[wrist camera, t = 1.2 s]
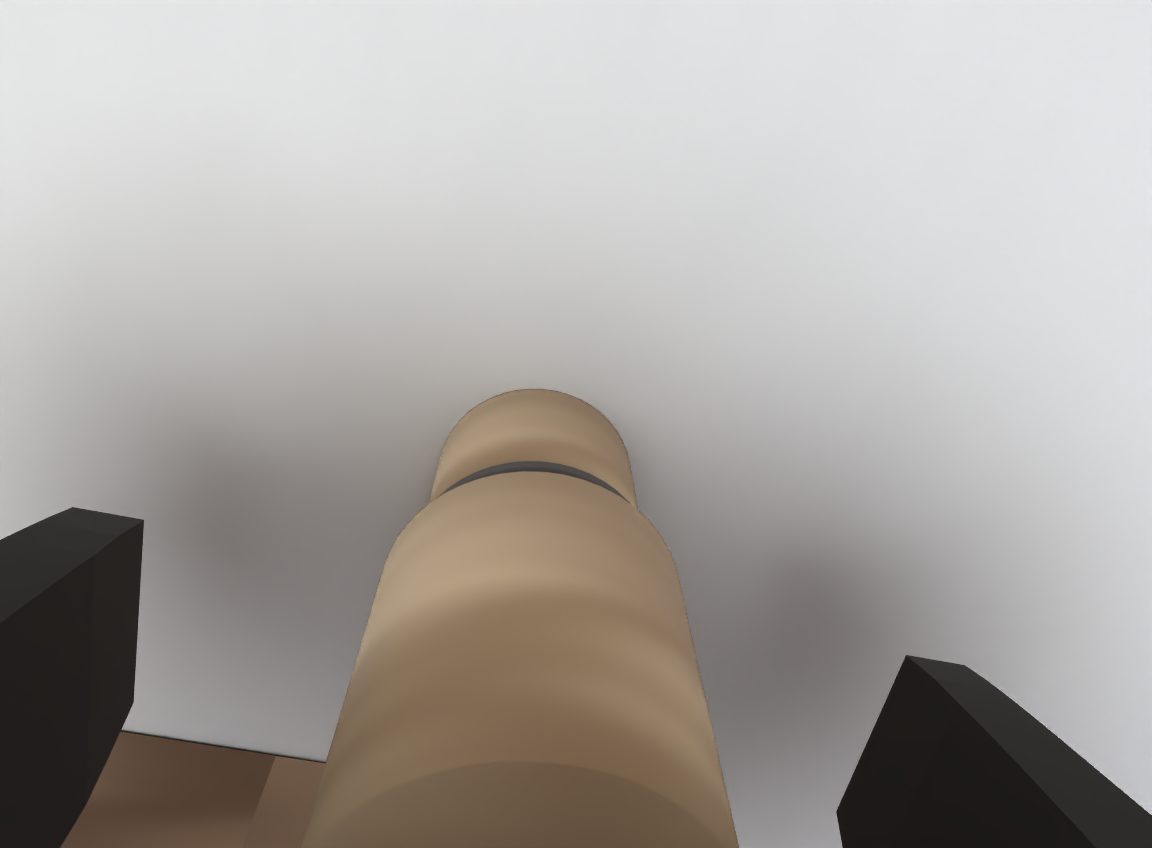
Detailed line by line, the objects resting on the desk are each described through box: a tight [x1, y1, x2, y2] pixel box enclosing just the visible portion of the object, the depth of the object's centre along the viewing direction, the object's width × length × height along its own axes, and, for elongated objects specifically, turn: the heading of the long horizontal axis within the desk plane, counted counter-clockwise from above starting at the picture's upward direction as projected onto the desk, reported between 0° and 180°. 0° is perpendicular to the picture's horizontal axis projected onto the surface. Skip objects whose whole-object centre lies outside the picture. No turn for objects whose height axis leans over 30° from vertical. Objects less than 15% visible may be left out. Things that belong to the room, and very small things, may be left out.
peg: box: [301, 389, 739, 848], centre depth 10 cm, size 3×3×7 cm
